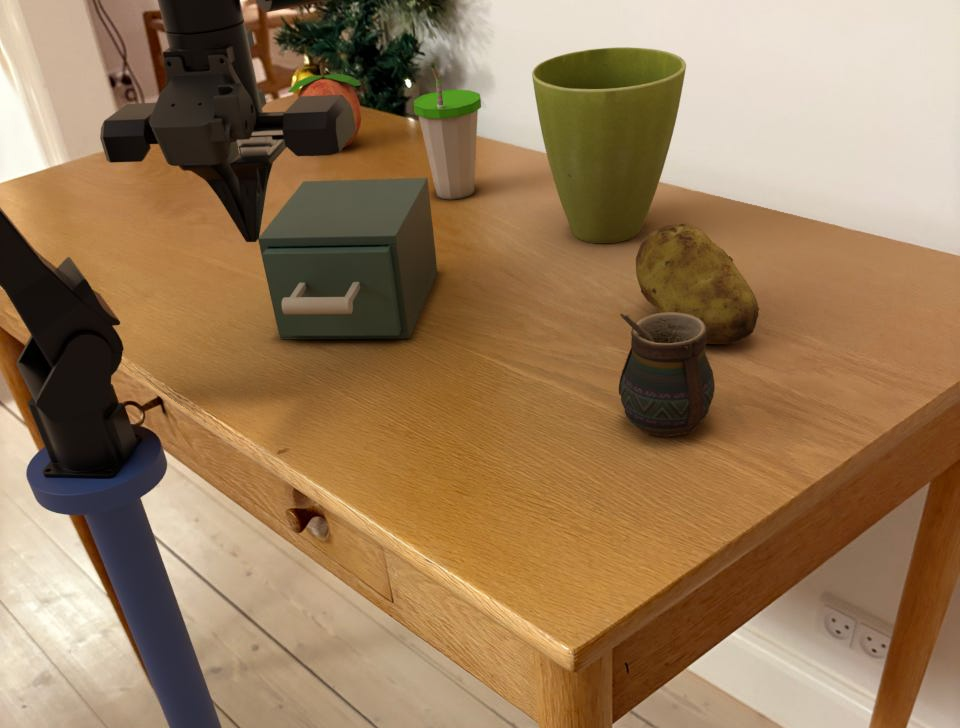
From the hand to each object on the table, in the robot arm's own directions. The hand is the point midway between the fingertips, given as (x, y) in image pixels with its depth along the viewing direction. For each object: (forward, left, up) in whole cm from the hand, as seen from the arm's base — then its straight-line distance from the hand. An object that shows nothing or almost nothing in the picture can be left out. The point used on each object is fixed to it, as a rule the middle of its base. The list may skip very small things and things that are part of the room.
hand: (252, 240), depth 86 cm
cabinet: (+4, +14, -12) cm, 19 cm away
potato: (+36, +9, -12) cm, 39 cm away
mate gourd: (+34, -8, -12) cm, 37 cm away
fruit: (-12, +64, -12) cm, 66 cm away
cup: (+8, +45, -12) cm, 47 cm away
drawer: (+4, +10, -11) cm, 15 cm away
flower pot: (+27, +32, -12) cm, 44 cm away
